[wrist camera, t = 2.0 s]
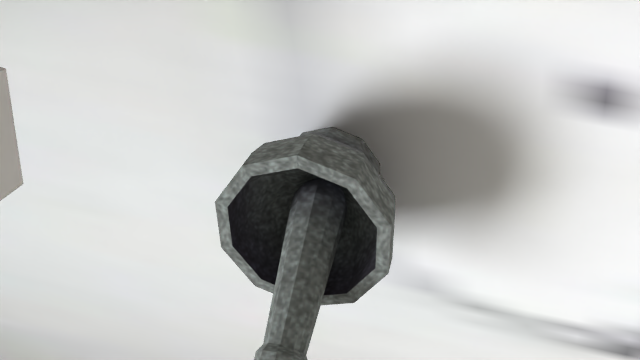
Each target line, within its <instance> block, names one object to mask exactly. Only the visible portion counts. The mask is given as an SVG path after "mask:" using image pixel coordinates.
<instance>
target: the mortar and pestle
mask: <svg viewBox="0 0 640 360" xmlns="http://www.w3.org/2000/svg"><path fill="white" fill-rule="evenodd" d="M215 205H216V212H217V220H218V227H219V234H220V241H221V247H222V249H223V250H224V251H225V252H226V253H227V254H228V255H229V257H230V258H231V259H232V260H233V261H234V262H235V263H236V265H237V266H238V267H239V268H240V269H241V270H242V272H243V273H244V274H245V275H246V276H247V277H248V278H249V280H250V281H251V282H252V283H253V284H254V285H255V286H257V287H259V288H261V289H264V290H266V291H269V292H271V293H273V298H272V303H271V308H270V313H269V318H268V323H267V328H266V333H265V338H264V343H263V345H262V346H261V347H260V348H259V349H258V350H257V351H256V354H255V358H254V360H307V357H306V354H307V350H308V347H309V343H310V340H311V336H312V333H313V329H314V326H315V323H316V319H317V316H318V312H319V309H320V305H330V304H344V303H354V302H355V301H357V300H358V299H359V298H360V297H361V296H363V295H364V294H365V293H366V292H367V291H368V290H370V289H371V288H372V287H373V286H374V285H375V284H377V283H378V282H379V281H380V280H381V279H382V278H384V277H385V276H386V275H387V274H388V273H389V269H390V264H391V260H392V252H393V235H394V219H395V196H394V194H393V193H392V191H391V190H390V189H389V187H388V186H387V185H386V183H385V182H384V180H383V179H382V178H381V176H380V163H379V162H378V161H377V159H376V158H375V157H374V155H373V154H372V152H371V151H370V150H369V148H368V147H367V145H366V144H365V143H364V141H363V140H362V139H360V138H358V137H355V136H353V135H350V134H348V133H345V132H343V131H340V130H338V129H335V128H333V127H329V128H324V129H319V130H314V131H309V132H305V133H302V134H301V135H300V136H298V137H293V138H288V139H283V140H278V141H273V142H268V143H264V144H263V145H262V146H260V147H259V148H258V149H256V150H255V151H254V152H253V153H251V155H250V156H249V157H248V159H247V160H246V161H245V163H244V164H243V165H242V167H241V168H240V169H239V171H238V172H237V173H236V175H235V176H234V177H233V179H232V180H231V181H230V183H229V184H228V185H227V187H226V188H225V189H224V191H223V192H222V193H221V195H220V196H219V197H218V199H217V200H216V201H215Z"/></svg>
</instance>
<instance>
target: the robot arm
mask: <svg viewBox="0 0 640 360" xmlns="http://www.w3.org/2000/svg"><path fill="white" fill-rule="evenodd" d="M22 184H23V179H22V172H21V165H20V159H19V152H18V146H17V139H16V133H15V126H14V119H13V113H12V106H11V100H10V93H9V87H8V80H7V73H6V69H5V68H2V67H0V201H1V200H2V199H3V198H5V197H6V196H7V195H9V194H10V193H12V192H13V191H14V190H16V189H17V188H18V187H20V186H21V185H22Z"/></svg>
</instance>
